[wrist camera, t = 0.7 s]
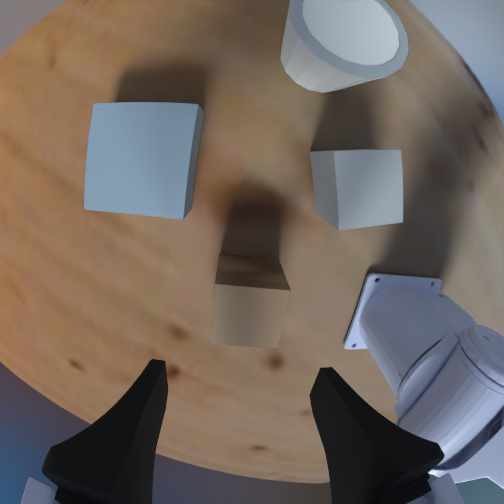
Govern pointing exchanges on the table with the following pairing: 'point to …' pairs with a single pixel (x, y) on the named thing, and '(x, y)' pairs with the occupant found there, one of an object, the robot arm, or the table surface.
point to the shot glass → (341, 43)
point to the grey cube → (358, 187)
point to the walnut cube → (249, 302)
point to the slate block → (143, 158)
